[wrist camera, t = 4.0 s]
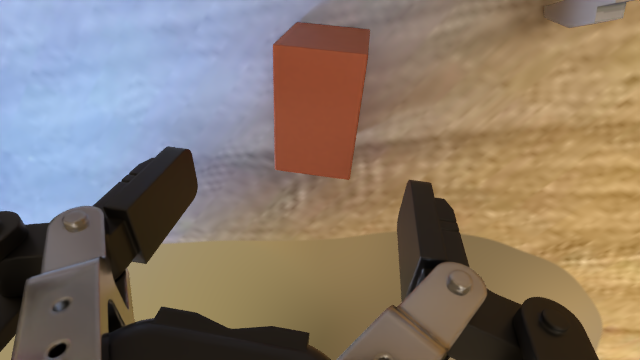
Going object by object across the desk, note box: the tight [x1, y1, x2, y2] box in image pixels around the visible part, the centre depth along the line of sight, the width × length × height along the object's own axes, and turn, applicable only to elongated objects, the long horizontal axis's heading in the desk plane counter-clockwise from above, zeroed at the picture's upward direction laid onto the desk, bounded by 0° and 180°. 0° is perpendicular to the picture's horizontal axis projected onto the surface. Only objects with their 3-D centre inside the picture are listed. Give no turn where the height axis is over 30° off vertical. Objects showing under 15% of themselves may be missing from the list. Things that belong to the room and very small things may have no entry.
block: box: [273, 22, 370, 180], centre depth 19 cm, size 4×7×6 cm, turn 176°
